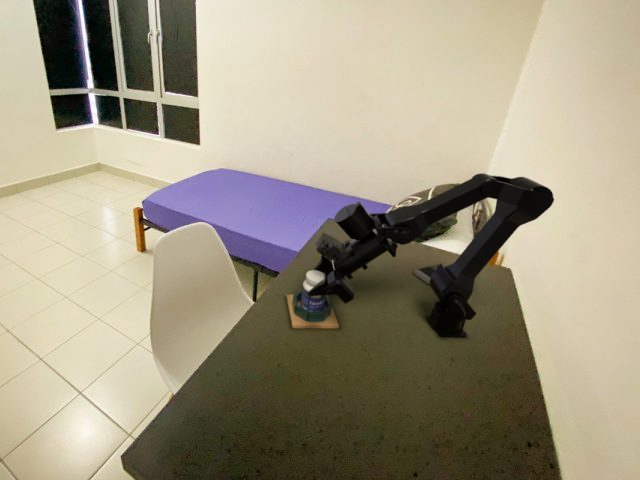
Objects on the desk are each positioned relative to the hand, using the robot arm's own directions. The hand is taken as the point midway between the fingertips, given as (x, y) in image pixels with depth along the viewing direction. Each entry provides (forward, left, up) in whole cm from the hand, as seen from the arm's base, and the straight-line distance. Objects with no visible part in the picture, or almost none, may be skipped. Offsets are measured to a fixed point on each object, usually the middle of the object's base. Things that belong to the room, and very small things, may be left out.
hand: (308, 286), depth 81 cm
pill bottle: (-1, 0, -7) cm, 7 cm away
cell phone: (-42, -16, -8) cm, 46 cm away
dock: (-1, 0, -8) cm, 8 cm away
